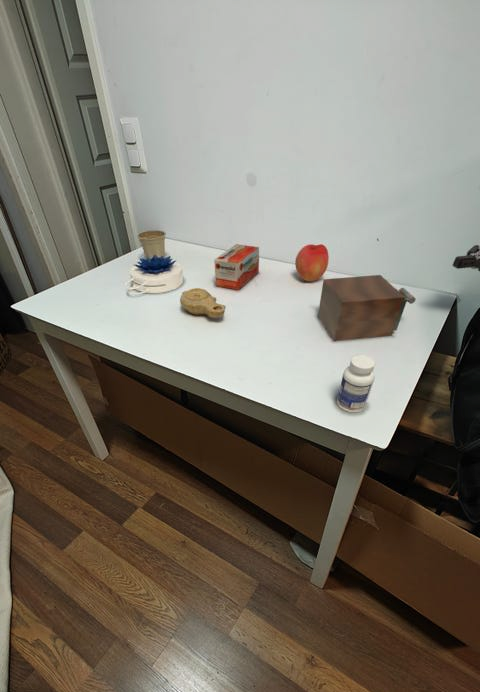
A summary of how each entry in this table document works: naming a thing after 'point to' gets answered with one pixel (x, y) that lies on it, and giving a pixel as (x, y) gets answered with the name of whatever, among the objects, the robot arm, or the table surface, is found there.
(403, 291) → the drawer
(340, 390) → the pill bottle
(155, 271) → the lotus flower trinket box
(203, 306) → the oil lamp
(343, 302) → the cabinet
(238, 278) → the medicine box
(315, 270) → the apple
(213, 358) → the table surface
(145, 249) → the flower pot
